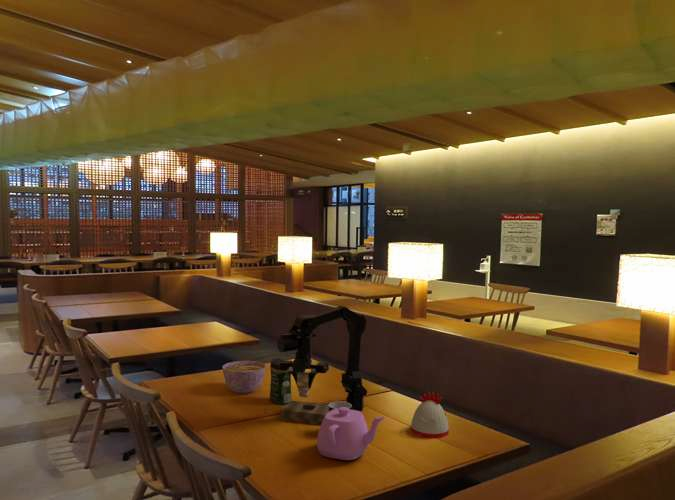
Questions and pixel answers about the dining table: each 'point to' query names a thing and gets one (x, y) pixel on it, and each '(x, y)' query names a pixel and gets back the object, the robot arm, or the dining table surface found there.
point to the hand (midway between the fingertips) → (304, 388)
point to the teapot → (345, 434)
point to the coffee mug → (339, 405)
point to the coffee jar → (279, 383)
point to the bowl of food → (244, 375)
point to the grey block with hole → (304, 412)
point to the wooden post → (303, 384)
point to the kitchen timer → (430, 418)
